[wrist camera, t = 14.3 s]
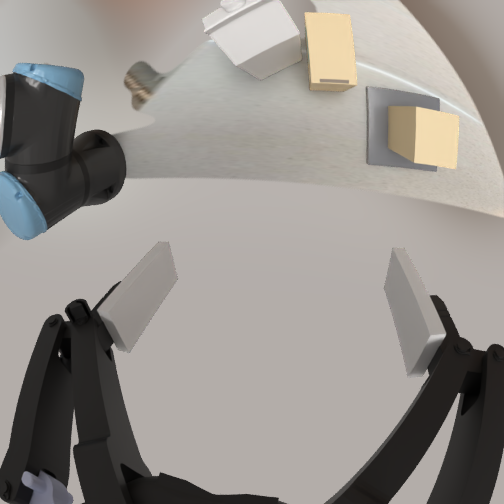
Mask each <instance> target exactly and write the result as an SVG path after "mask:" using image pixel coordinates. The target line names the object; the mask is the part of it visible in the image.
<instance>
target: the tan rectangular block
mask: <svg viewBox="0 0 504 504" xmlns="http://www.w3.org/2000/svg"><path fill="white" fill-rule="evenodd" d="M458 136H459V116H456V115H453V114H449V113H444V112H440V111H436V110H431V109H426V108H421V107H414V106H388V148H389V149H390V150H392V151H394V152H396V153H398V154H400V155H401V156H403V157H405V158H407V159H408V160H410V161H412V162H414V163H419V164H427V165H434V166H440V167H446V168H452V169H456V163H457V152H458Z"/></svg>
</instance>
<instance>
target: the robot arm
mask: <svg viewBox="0 0 504 504" xmlns="http://www.w3.org/2000/svg"><path fill="white" fill-rule="evenodd" d="M83 82H84V75H83V73H82V72H81V71H80V70H79V69H75V68H69V67H63V66H55V65H45V64H30V63H18V64H16V66H15V68H14V69H13V74H8V75H2V76H1V77H0V159H1V158H5V171H2V172H0V215H1V217H2V219H3V220H4V222H5V224H6V225H7V227H8V228H9V229H10V230H11V232H12V233H13V234H15V235H16V236H17V237H19V238H20V239H23V240H30V239H33V238H34V237H36V236H38V235H39V234H41V233H44V232H46V230H48V229H49V228H51V227H52V226H53V225H55V224H56V223H58V222H59V221H60V220H62V219H64V218H65V217H66V216H68V215H69V214H71V213H72V212H74V211H75V210H77V209H78V208H80V207H82V206H90V205H98V204H103V203H105V202H107V201H109V200H111V199H112V198H114V197H115V196H116V195H117V194H118V193H119V192H120V190H121V188H122V186H123V184H124V180H125V175H126V164H125V158H124V154H123V151H122V149H121V147H120V145H119V143H118V142H117V141H116V139H115V138H114V137H113V136H112V135H111V134H109V133H107V132H106V131H103V130H91V131H87V132H84V133H82V134H80V135H79V136H77V137H76V138H75V139H74V134H75V128H76V121H77V116H78V110H79V105H80V101H82V98H81V93H82V88H83ZM177 280H178V278H177V274H176V269H175V265H174V262H173V257H172V253H171V249H170V245H169V242H158V243H157V244H156V245H155V246H154V247H153V248H152V249H151V250H150V251H149V252H148V253H147V254H146V255H145V256H144V258H143V259H142V260H141V261H140V262H139V263H138V264H137V265H136V266H135V267H134V268H133V269H132V270H131V272H130V273H129V274H128V275H127V276H126V277H125V278H124V279H123V280H122V281H120V282H118V283H117V284H115V285H114V286H113V287H112V288H111V289H110V290H109V291H108V293H106V294H105V296H104V298H102V299H101V300H100V301H99V303H98V304H97V305H96V306H95V307H94V308H93V310H92V311H91V310H90V308H89V306H88V304H87V302H86V300H84V299H77V300H74V301H72V302H71V303H70V304H68V305H67V307H66V308H65V313H66V314H67V316H68V318H69V320H70V321H64V319H63V318H62V316H61V315H60V314H55V315H52V316H50V317H49V318H48V319H47V320H46V321H45V323H44V325H43V327H42V329H41V332H40V335H39V337H38V340H37V342H36V345H35V348H34V351H33V353H32V356H31V359H30V362H29V365H28V368H27V371H26V374H25V378H24V381H23V384H22V388H21V392H20V395H19V399H18V403H17V407H16V412H15V417H14V421H13V426H12V433H11V438H10V444H9V449H8V451H7V453H6V456H5V458H4V461H3V463H2V466H1V468H0V498H1V499H2V500H4V501H5V502H7V503H9V504H72V503H73V497H72V495H71V494H70V493H68V491H67V485H68V479H69V470H70V469H69V467H70V446H71V431H72V421H73V412H74V409H75V417H76V425H77V432H78V438H79V443H78V444H77V445H74V447H73V454H74V459H75V464H76V469H77V473H78V477H79V481H80V485H81V489H82V492H83V496H84V499H85V503H82V504H287V503H284V502H281V501H278V499H279V498H276V497H266V496H258V495H250V494H238V495H215V494H211V493H209V492H207V491H205V490H203V489H201V488H199V487H197V486H196V485H194V484H192V483H190V482H188V481H186V480H183V479H179V478H176V477H173V476H170V475H167V474H164V473H160V474H159V476H152V474H151V472H150V471H149V469H148V468H147V466H146V465H145V464H144V462H143V460H142V458H141V456H140V453H139V450H138V447H137V444H136V441H135V438H134V435H133V432H132V429H131V425H130V422H129V419H128V415H127V411H126V408H125V404H124V400H123V396H122V392H121V388H120V384H119V379H118V375H117V371H116V365H115V360H114V355H113V351H112V349H111V345H112V344H113V343H115V345H116V347H117V348H118V350H120V351H123V352H127V353H130V352H131V350H132V348H133V347H134V345H135V343H136V342H137V341H138V339H139V337H140V336H141V334H142V333H143V331H144V330H145V328H146V326H147V325H148V323H149V322H150V320H151V319H152V317H153V316H154V314H155V313H156V311H157V310H158V308H159V307H160V305H161V304H162V302H163V300H164V299H165V297H166V296H167V295H168V293H169V292H170V290H171V289H172V287H173V286H174V284H175V282H176V281H177ZM384 290H385V293H386V296H387V299H388V302H389V305H390V309H391V312H392V316H393V319H394V323H395V326H396V330H397V334H398V338H399V342H400V346H401V350H402V354H403V358H404V362H405V367H406V371H407V376H408V378H411V377H421V376H423V375H424V373H425V371H426V370H427V368H428V372H429V377H428V378H427V380H426V381H425V383H424V384H423V386H422V388H421V390H420V392H419V393H418V395H417V397H416V398H415V400H414V401H413V403H412V404H411V406H410V407H409V409H408V410H407V412H406V413H405V415H404V416H403V417H402V419H401V420H400V422H399V423H398V424H397V426H396V427H395V428H394V430H393V431H392V433H391V434H390V435H389V436H388V438H387V439H386V440H385V441H384V443H383V444H382V445H381V446H380V447H379V449H378V450H377V451H376V452H375V453H374V455H373V456H372V457H371V458H370V459H369V461H368V462H367V463H366V464H365V465H364V466H363V467H362V468H361V469H360V470H359V471H358V472H357V474H355V475H354V476H353V478H352V479H351V480H350V481H349V482H348V483H347V484H346V485H345V486H343V487H342V489H340V490H339V491H338V492H337V493H336V494H335V495H334V496H333V497H331V498H330V499H329V500H328V501H327V502H326V503H324V504H388V503H389V501H390V500H391V499H392V498H393V496H394V495H395V494H396V493H397V492H398V490H399V489H400V488H401V487H402V485H403V484H404V483H405V481H406V480H407V479H408V477H409V476H410V475H411V473H412V472H413V471H414V469H415V468H416V466H417V465H418V463H419V462H420V460H421V459H422V457H423V456H424V454H425V453H426V451H427V450H428V448H429V447H430V445H431V443H432V442H433V440H434V438H435V437H436V435H437V433H438V431H439V430H440V428H441V426H442V424H443V422H444V420H445V419H446V417H447V415H448V412H449V411H450V409H451V407H452V405H453V403H454V400H455V398H456V396H457V394H458V393H461V394H460V400H459V405H458V410H457V414H456V419H455V423H454V427H453V431H452V435H451V439H450V442H449V446H448V449H447V452H446V455H445V458H444V461H443V464H442V467H441V470H440V473H439V475H438V478H437V480H436V483H435V485H434V488H433V490H432V493H431V495H430V497H429V499H428V502H427V504H489V503H490V500H491V497H492V493H493V490H494V487H495V483H496V480H497V476H498V472H499V468H500V463H501V458H502V454H503V448H504V348H503V347H502V346H501V345H499V344H492V345H491V346H490V347H489V348H488V349H487V351H480V350H475V349H473V346H472V345H471V343H470V342H469V341H468V340H466V339H464V338H462V337H460V336H459V333H458V331H457V329H456V327H455V324H454V322H453V320H452V318H451V317H450V314H449V312H448V311H447V308H446V306H445V304H444V302H443V301H442V300H441V299H440V298H439V297H438V296H437V295H431V296H429V294H428V292H427V290H426V288H425V286H424V284H423V282H422V280H421V278H420V276H419V274H418V272H417V270H416V268H415V266H414V264H413V263H412V261H411V259H410V257H409V255H408V254H407V252H406V250H405V248H392V253H391V258H390V263H389V268H388V272H387V277H386V281H385V286H384ZM58 352H60V353H61V355H60V357H59V355H58Z"/></svg>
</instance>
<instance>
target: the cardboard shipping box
mask: <svg viewBox="0 0 504 504" xmlns="http://www.w3.org/2000/svg"><path fill="white" fill-rule="evenodd" d="M305 39H306V49H307V60H308V72H309V85H310V90H318V91H343V92H344V91H346V90H348V89H350V88H352V87H354V86H356V85H357V74H356V62H355V51H354V42H353V34H352V26H351V19H350V15H348V14H334V13H305Z"/></svg>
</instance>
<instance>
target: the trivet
mask: <svg viewBox="0 0 504 504" xmlns="http://www.w3.org/2000/svg"><path fill="white" fill-rule="evenodd" d="M366 92H367V164H368V165H380V166H391V167H402V168H411V169H419V170H427V171H434V172H437V166H434V165H427V164H419V163H414V162H412V161H410V160H408V159H407V158H405V157H403V156H401V155H400V154H398V153H396V152H394V151H392V150H390V149H389V148H388V106H414V107H421V108H426V109H431V110H436V111H440V100H439V98H435V97H430V96H426V95H421V94H416V93H410V92H405V91H399V90H392V89H385V88H377V87H366Z"/></svg>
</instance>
